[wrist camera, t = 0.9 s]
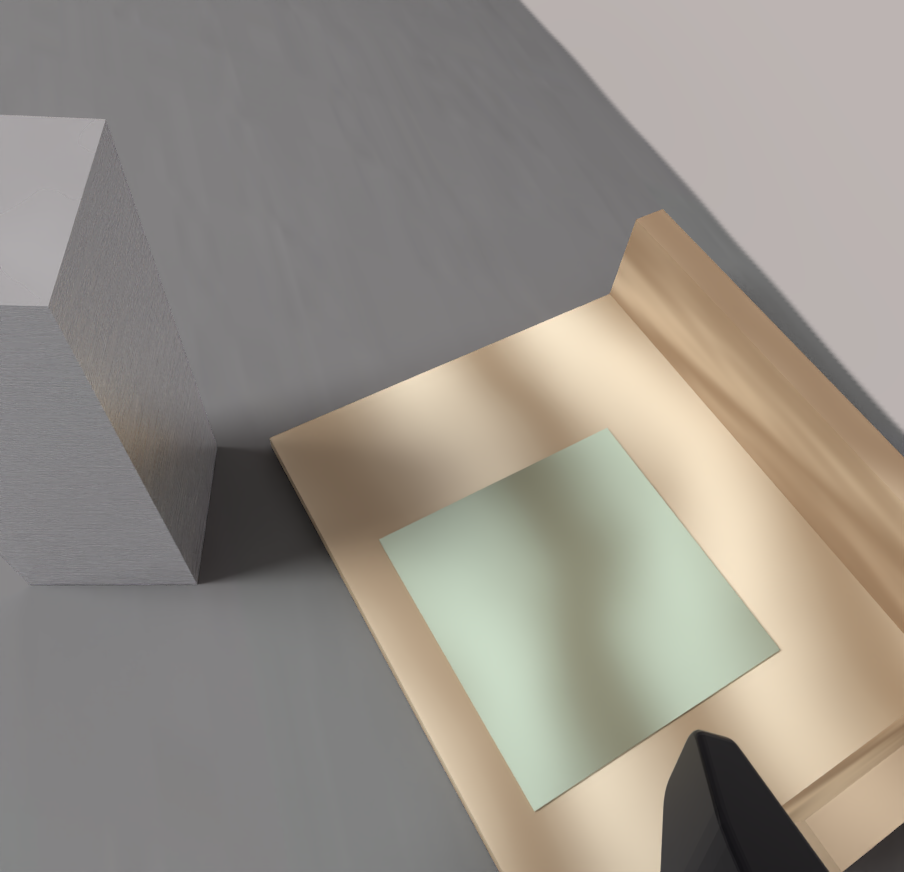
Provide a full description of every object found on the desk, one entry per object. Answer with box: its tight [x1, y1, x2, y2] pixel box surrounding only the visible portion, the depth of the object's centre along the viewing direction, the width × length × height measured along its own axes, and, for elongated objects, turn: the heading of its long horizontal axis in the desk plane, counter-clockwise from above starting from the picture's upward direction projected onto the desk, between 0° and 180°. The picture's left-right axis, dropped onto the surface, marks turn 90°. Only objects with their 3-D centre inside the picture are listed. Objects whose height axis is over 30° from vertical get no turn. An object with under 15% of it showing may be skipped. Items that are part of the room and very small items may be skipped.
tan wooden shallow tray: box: [270, 209, 904, 872], centre depth 24 cm, size 16×19×4 cm
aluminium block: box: [0, 115, 217, 585], centre depth 20 cm, size 5×5×13 cm
